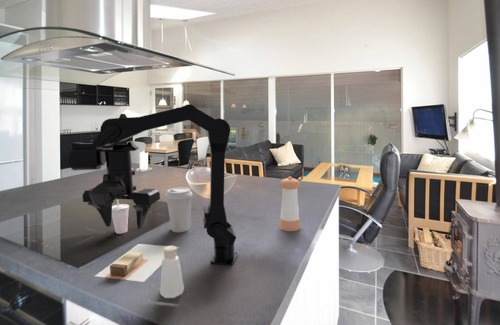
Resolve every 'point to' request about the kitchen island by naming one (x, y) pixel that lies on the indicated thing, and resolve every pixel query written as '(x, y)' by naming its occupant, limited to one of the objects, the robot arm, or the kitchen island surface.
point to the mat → (143, 270)
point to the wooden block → (126, 264)
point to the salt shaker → (290, 205)
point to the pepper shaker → (171, 274)
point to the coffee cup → (179, 208)
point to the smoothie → (120, 217)
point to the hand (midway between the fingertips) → (124, 227)
